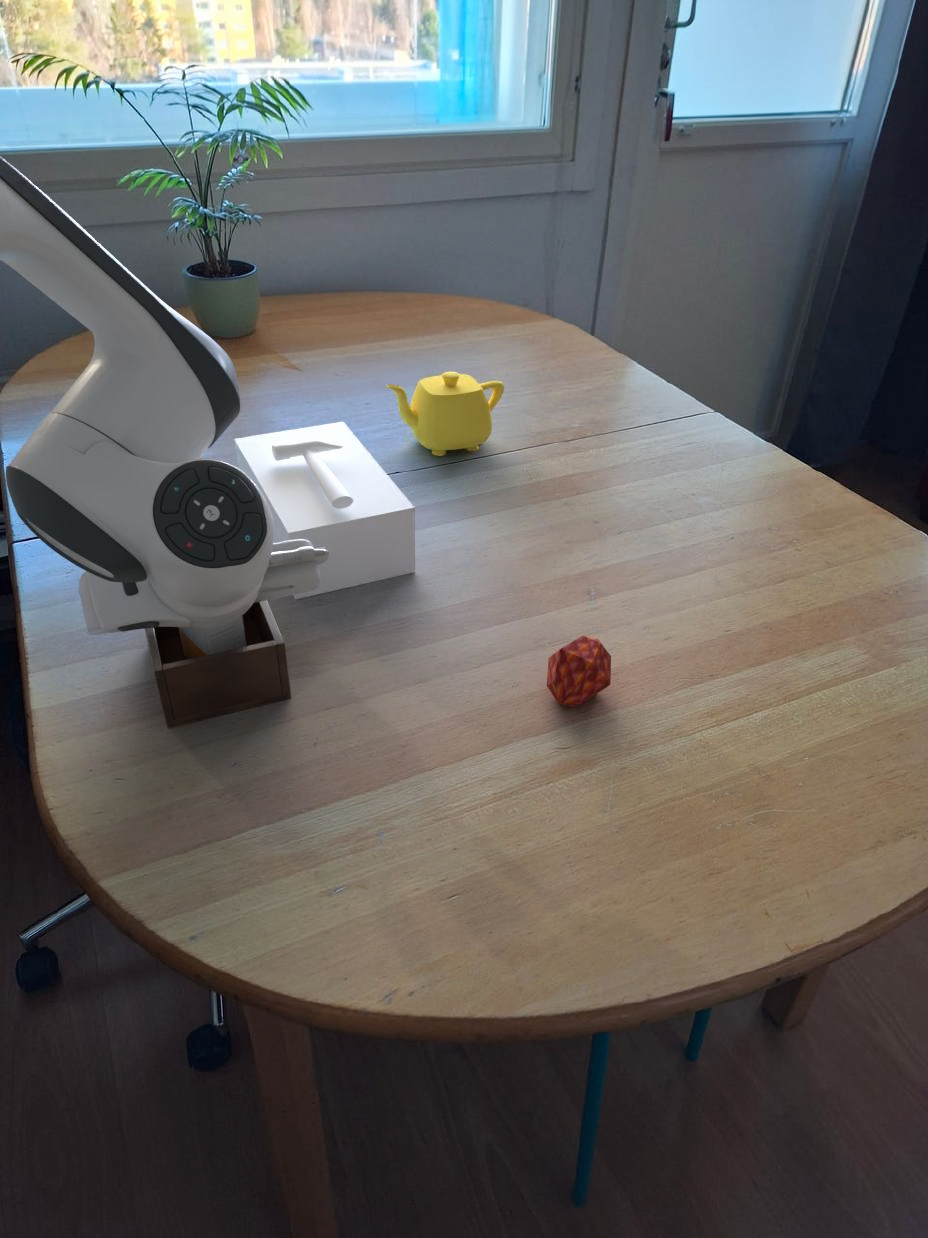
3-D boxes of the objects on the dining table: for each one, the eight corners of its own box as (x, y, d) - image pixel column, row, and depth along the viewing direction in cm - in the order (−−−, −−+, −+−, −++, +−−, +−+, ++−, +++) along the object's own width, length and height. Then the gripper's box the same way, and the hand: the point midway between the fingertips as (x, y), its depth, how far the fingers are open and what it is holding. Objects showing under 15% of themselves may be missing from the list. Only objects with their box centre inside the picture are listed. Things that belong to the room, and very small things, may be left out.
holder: (167, 728, 80) (153, 672, 76) (149, 643, 90) (136, 589, 86) (291, 698, 84) (284, 642, 80) (260, 620, 94) (253, 567, 90)
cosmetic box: (183, 657, 87) (161, 556, 80) (220, 640, 90) (203, 540, 83) (213, 687, 84) (194, 584, 77) (252, 669, 86) (236, 567, 79)
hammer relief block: (346, 479, 121) (342, 404, 114) (415, 572, 103) (414, 488, 96) (242, 499, 116) (231, 421, 109) (295, 599, 97) (286, 513, 91)
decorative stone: (538, 709, 87) (578, 648, 90) (595, 733, 83) (635, 668, 86) (519, 674, 83) (562, 611, 86) (579, 697, 79) (622, 630, 82)
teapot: (398, 467, 124) (397, 395, 118) (377, 436, 132) (374, 367, 126) (515, 451, 129) (519, 381, 123) (487, 421, 138) (490, 354, 131)
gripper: (323, 511, 74) (303, 552, 87) (63, 556, 67) (83, 593, 80) (341, 583, 73) (318, 613, 86) (80, 635, 66) (98, 659, 79)
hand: (203, 604), depth 83 cm, fingers open, 8 cm apart
